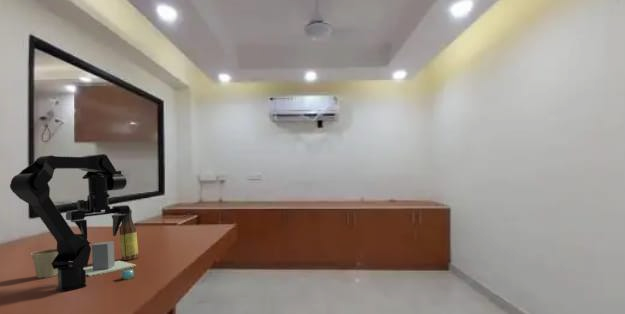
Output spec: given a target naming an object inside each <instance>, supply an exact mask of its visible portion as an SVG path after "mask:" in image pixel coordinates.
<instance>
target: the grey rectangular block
mask: <svg viewBox="0 0 625 314" xmlns="http://www.w3.org/2000/svg"><path fill="white" fill-rule="evenodd" d="M91 259H92V260H91V261H92V266H93V270H106V269H110V268H112V267H114V266H115V261H116V260H115V242H114V241H112V240H111V241H99V242H96V243H93V244H91Z"/></svg>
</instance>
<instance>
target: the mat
mask: <svg viewBox="0 0 625 314" xmlns="http://www.w3.org/2000/svg"><path fill="white" fill-rule="evenodd" d="M134 266H135V267H137V264H135V263H131V262H126V261H124V260H115V266H114V267H112V268H110V269H106V270H93V265H92V266H85V267H83V268H84V270H85V273H86V276H87V275H88V276H87V277H93V276H92V275H95V276H98V275H97V274H99V275H103V273H104V274H107V273H113V272H117V271H123V270H126V269H130V267H131V268H134ZM125 268H126V269H125Z"/></svg>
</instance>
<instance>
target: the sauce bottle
mask: <svg viewBox="0 0 625 314" xmlns="http://www.w3.org/2000/svg"><path fill="white" fill-rule="evenodd" d="M132 213H133V211H132V209H131V208H130V213H128V214H125V215H127V216H125V217H124V218H123V220H122V222H121V224H120V226H119V229H118V230H119V244H120V253H121V255H120V257H121V259H122V260H121V261H131V259H133V260H135V259H138V258H139V247H138V246H139V245H138V235H137V234H138V233H137V229H136V226H135V223H134V222H133V217H132V215H133V214H132Z"/></svg>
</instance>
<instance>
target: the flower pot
mask: <svg viewBox="0 0 625 314" xmlns="http://www.w3.org/2000/svg"><path fill="white" fill-rule="evenodd" d="M57 254H58V251H57V248H51V249H42V250H38V251H33V252H31V253H30V254H29V255H30V256H31V258H32V260H33V265H34V270H35V274H36V278H37V279H43V278H45V279H47V278H52V277H55V276H58V269H53V266H52V262H53V260H54V259H55V257H56V256H57Z"/></svg>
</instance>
